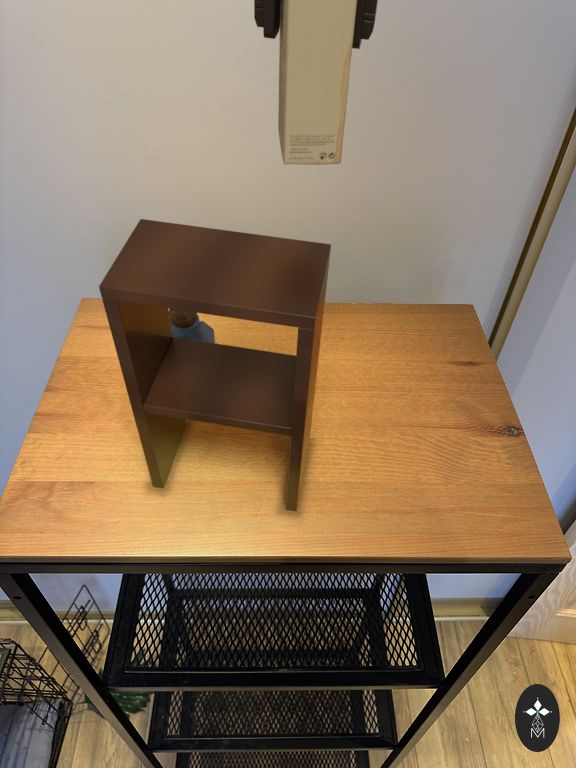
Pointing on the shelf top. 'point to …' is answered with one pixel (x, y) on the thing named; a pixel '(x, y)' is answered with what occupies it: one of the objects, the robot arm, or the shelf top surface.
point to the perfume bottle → (190, 326)
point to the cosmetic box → (314, 78)
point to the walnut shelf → (210, 360)
